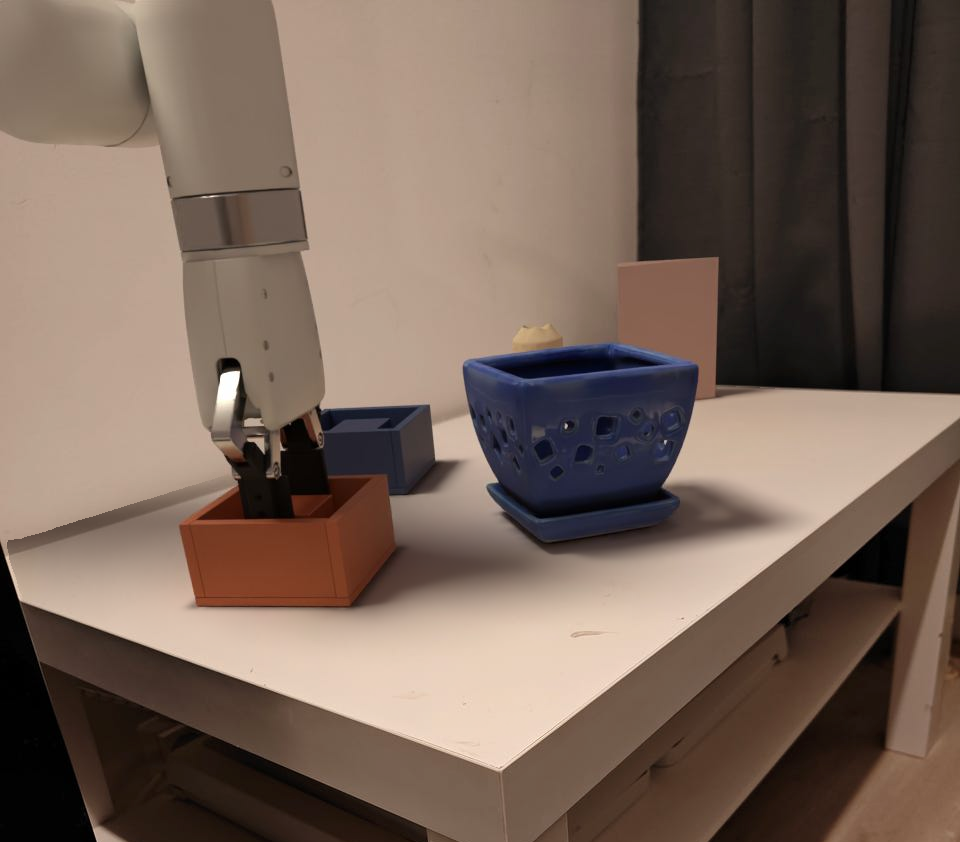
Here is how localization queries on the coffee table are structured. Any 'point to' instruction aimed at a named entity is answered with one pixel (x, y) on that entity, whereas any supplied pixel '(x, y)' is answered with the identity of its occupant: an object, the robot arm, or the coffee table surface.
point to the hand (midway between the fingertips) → (291, 518)
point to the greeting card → (672, 311)
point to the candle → (536, 339)
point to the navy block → (363, 424)
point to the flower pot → (582, 435)
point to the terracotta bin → (290, 549)
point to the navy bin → (381, 444)
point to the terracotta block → (312, 506)
